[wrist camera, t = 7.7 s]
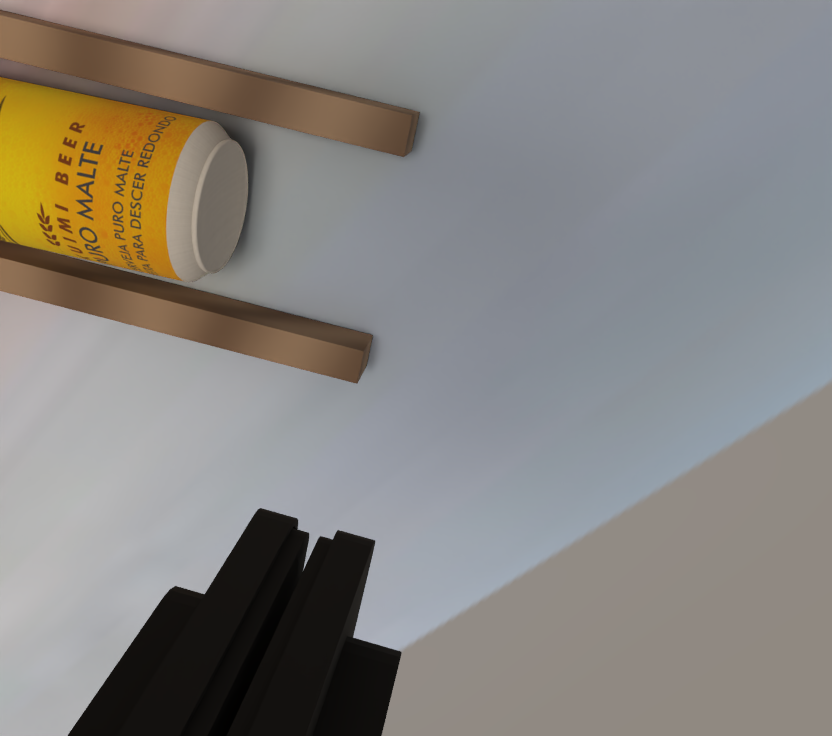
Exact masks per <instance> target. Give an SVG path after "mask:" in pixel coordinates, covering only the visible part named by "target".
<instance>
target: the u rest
mask: <svg viewBox="0 0 832 736" xmlns="http://www.w3.org/2000/svg"><path fill="white" fill-rule="evenodd" d="M0 58H4V59H8V60H12V61H16V62H20V63H24V64H28V65H32V66H36V67H40V68H44V69H48V70H52V71H56V72H61V73H65V74H69V75H73V76H77V77H81V78H85V79H89V80H93V81H97V82H101V83H105V84H109V85H113V86H117V87H121V88H126V89H130V90H134V91H138V92H142V93H146V94H150V95H154V96H158V97H162V98H166V99H170V100H174V101H178V102H182V103H186V104H191V105H195V106H199V107H203V108H207V109H211V110H215V111H219V112H223V113H227V114H231V115H235V116H239V117H243V118H247V119H251V120H256V121H260V122H264V123H268V124H272V125H276V126H280V127H284V128H288V129H292V130H296V131H300V132H304V133H308V134H312V135H316V136H321V137H325V138H329V139H333V140H337V141H341V142H345V143H349V144H353V145H357V146H361V147H365V148H369V149H373V150H377V151H381V152H386V153H390V154H394V155H398V156H402V157H404V156H406V155H407V154H408V153H410V152H411V151H412V146H413V141H414V137H415V132H416V127H417V122H418V117H419V113H420V112H418V111H413V110H409V109H405V108H401V107H397V106H393V105H389V104H385V103H381V102H376V101H372V100H368V99H364V98H360V97H356V96H352V95H348V94H344V93H339V92H335V91H331V90H327V89H323V88H319V87H315V86H311V85H307V84H302V83H298V82H294V81H290V80H286V79H282V78H278V77H274V76H270V75H265V74H261V73H257V72H253V71H249V70H245V69H241V68H237V67H233V66H229V65H224V64H220V63H216V62H212V61H208V60H204V59H200V58H196V57H192V56H187V55H183V54H179V53H175V52H171V51H167V50H163V49H159V48H155V47H150V46H146V45H142V44H138V43H134V42H130V41H126V40H122V39H118V38H113V37H109V36H105V35H101V34H97V33H93V32H89V31H85V30H81V29H76V28H72V27H68V26H64V25H60V24H56V23H52V22H48V21H44V20H39V19H35V18H31V17H27V16H23V15H19V14H15V13H11V12H7V11H2V10H0ZM0 291H3V292H7V293H11V294H15V295H19V296H22V297H26V298H30V299H34V300H38V301H42V302H46V303H49V304H53V305H57V306H61V307H65V308H69V309H72V310H76V311H80V312H84V313H88V314H92V315H95V316H99V317H103V318H107V319H111V320H115V321H119V322H122V323H126V324H130V325H134V326H138V327H142V328H145V329H149V330H153V331H157V332H161V333H165V334H169V335H172V336H176V337H180V338H184V339H188V340H192V341H195V342H199V343H203V344H207V345H211V346H215V347H219V348H222V349H226V350H230V351H234V352H238V353H242V354H245V355H249V356H253V357H257V358H261V359H265V360H269V361H272V362H276V363H280V364H284V365H288V366H292V367H295V368H299V369H303V370H307V371H311V372H315V373H318V374H322V375H326V376H330V377H334V378H338V379H342V380H345V381H349V382H353V383H358V381H359V379H360V377H361V375H362V373H363V372H364V370H365V368H366V366H367V361H368V356H369V352H370V347H371V342H372V337H373V335H370V334H366V333H362V332H359V331H355V330H351V329H347V328H343V327H339V326H335V325H331V324H327V323H324V322H320V321H316V320H312V319H308V318H304V317H300V316H296V315H292V314H288V313H285V312H281V311H277V310H273V309H269V308H265V307H261V306H257V305H253V304H250V303H246V302H242V301H238V300H234V299H230V298H226V297H222V296H218V295H215V294H211V293H207V292H203V291H199V290H195V289H191V288H187V287H183V286H180V285H176V284H172V283H168V282H164V281H160V280H156V279H152V278H148V277H145V276H141V275H137V274H133V273H129V272H125V271H121V270H117V269H113V268H110V267H106V266H102V265H98V264H94V263H90V262H86V261H82V260H78V259H75V258H71V257H67V256H63V255H59V254H55V253H51V252H47V251H43V250H39V249H36V248H32V247H28V246H24V245H19V244H15V243H10V242H6V241H1V240H0Z"/></svg>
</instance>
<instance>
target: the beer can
mask: <svg viewBox="0 0 832 736" xmlns="http://www.w3.org/2000/svg"><path fill="white" fill-rule="evenodd" d="M247 197H248V170H247V163H246V158H245V155H244V152H243V150H242V148H241V146H240V145H239V144H238V143H237V142H236V141H234V140H231V138H230V137H229V136H228V134H227V133H226V131H225V130H224V129H223V127H222V126H221V125H220V124H219V123H217V122H215V121H210V120H205V119H200V118H196V117H191V116H186V115H181V114H176V113H172V112H167V111H162V110H157V109H152V108H147V107H143V106H138V105H133V104H128V103H123V102H118V101H114V100H109V99H104V98H99V97H94V96H89V95H85V94H80V93H75V92H70V91H65V90H61V89H56V88H51V87H46V86H41V85H36V84H32V83H27V82H22V81H17V80H12V79H7V78H3V77H0V240H1V241H6V242H10V243H15V244H19V245H24V246H28V247H33V248H37V249H42V250H46V251H51V252H55V253H59V254H64V255H68V256H73V257H77V258H82V259H86V260H91V261H95V262H100V263H104V264H109V265H113V266H118V267H122V268H127V269H131V270H136V271H140V272H144V273H149V274H153V275H158V276H162V277H167V278H171V279H176V280H180V281H185V282H194V281H197V280H198V279H200V278H201V277H203V276H205V275H206V274H208V273H216V272H218V271H220V270H221V269H222V268H223V267H224V266H225V265H226V264H227V262H228V261H229V259H230V258H231V256H232V254H233V252H234V250H235V247H236V245H237V242H238V240H239V237H240V234H241V230H242V227H243V222H244V218H245V213H246V206H247Z"/></svg>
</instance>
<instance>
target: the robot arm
mask: <svg viewBox="0 0 832 736" xmlns="http://www.w3.org/2000/svg"><path fill="white" fill-rule="evenodd" d="M297 529H298V519H297V518H293V517H290V516H286V515H283V514H279V513H276V512H272V511H269V510H265V509H262V508H260V509H258V510H257V512H256V513H255V514H254V516H253V518H252V519H251V521H250V522H249V524H248V526H247V527H246V529H245V530H244V532H243V534H242V535H241V537H240V539H239V540H238V542H237V543H236V545H235V547H234V548H233V550H232V551H231V553H230V555H229V556H228V558H227V559H226V561H225V563H224V564H223V566H222V567H221V569H220V571H219V572H218V574H217V575H216V577H215V579H214V580H213V582H212V584H211V585H210V587H209V588H208V590H207V592H206V593H205V594H201V593H198V592H194V591H191V590H187V589H184V588H181V587H177V586H175V587H173V588H172V589H170V590H169V591H168V592H167V594H166V595H165V596H164V597H163V599H162V600H161V602H160V603H159V604H158V606H157V607H156V609H155V610H154V612H153V613H152V615H151V616H150V617H149V619H148V620H147V622H146V623H145V625H144V626H143V627H142V629H141V630H140V632H139V633H138V635H137V636H136V638H135V639H134V640H133V642H132V643H131V645H130V646H129V648H128V649H127V651H126V652H125V653H124V655H123V656H122V658H121V659H120V661H119V662H118V664H117V665H116V666H115V668H114V669H113V671H112V672H111V674H110V675H109V677H108V678H107V679H106V681H105V682H104V684H103V685H102V687H101V688H100V690H99V691H98V692H97V694H96V695H95V697H94V698H93V700H92V701H91V703H90V704H89V705H88V707H87V708H86V710H85V711H84V713H83V714H82V716H81V717H80V718H79V720H78V721H77V723H76V724H75V726H74V727H73V729H72V730H71V731H70V733H69V734H68V736H381V735H382V730H383V727H384V723H385V719H386V715H387V710H388V706H389V702H390V698H391V694H392V690H393V686H394V681H395V678H396V674H397V669H398V665H399V661H400V657H401V652H400V651H397V650H393V649H390V648H386V647H383V646H380V645H376V644H373V643H369V642H366V641H362V640H359V639H356V638H353V635H354V630H355V626H356V622H357V618H358V614H359V609H360V605H361V601H362V597H363V592H364V588H365V584H366V580H367V576H368V571H369V567H370V563H371V559H372V554H373V550H374V546H375V540H371V539H368V538H364V537H361V536H357V535H354V534H350V533H347V532H343V531H339V530H338V531H337V532H336V534H335V536H334V538H333V540H332V539H329V538H325V537H322V536H320V537H319V539H318V541H317V543H316V545H315V547H314V549H313V551H312V553H311V556H310V558H309V560H308V562H307V564H306V566H305V568H304V562H305V557H306V552H307V547H308V541H309V533H307V532H304V531H300V530H297ZM303 568H304V571H303Z"/></svg>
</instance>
